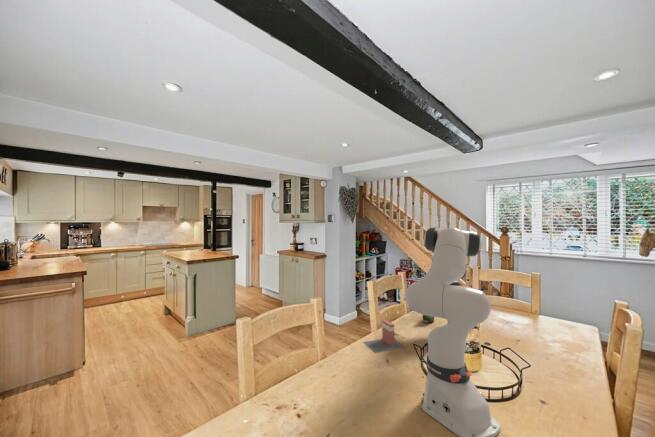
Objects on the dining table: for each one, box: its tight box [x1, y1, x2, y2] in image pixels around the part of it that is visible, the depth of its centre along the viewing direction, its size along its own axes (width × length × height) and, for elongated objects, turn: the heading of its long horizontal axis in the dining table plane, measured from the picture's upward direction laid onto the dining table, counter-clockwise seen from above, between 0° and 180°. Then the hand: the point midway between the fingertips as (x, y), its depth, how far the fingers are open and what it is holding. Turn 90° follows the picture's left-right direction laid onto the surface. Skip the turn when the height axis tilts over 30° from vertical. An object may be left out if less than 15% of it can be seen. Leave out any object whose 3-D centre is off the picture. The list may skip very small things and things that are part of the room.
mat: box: [363, 338, 406, 354], centre depth 129 cm, size 12×17×1 cm
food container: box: [422, 314, 435, 325], centre depth 162 cm, size 12×6×10 cm, turn 143°
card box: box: [381, 319, 395, 346], centre depth 132 cm, size 7×2×10 cm, turn 20°
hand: (408, 300), depth 136 cm, fingers open, 5 cm apart
